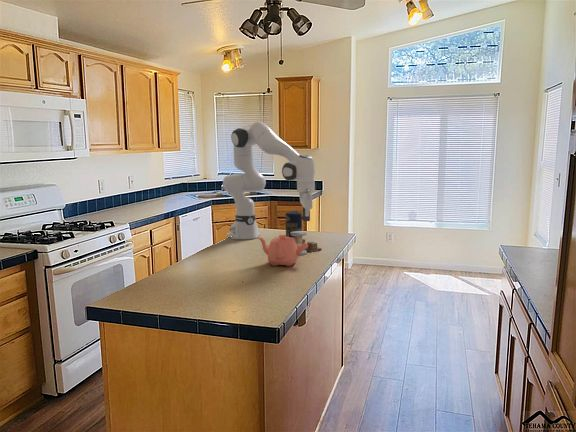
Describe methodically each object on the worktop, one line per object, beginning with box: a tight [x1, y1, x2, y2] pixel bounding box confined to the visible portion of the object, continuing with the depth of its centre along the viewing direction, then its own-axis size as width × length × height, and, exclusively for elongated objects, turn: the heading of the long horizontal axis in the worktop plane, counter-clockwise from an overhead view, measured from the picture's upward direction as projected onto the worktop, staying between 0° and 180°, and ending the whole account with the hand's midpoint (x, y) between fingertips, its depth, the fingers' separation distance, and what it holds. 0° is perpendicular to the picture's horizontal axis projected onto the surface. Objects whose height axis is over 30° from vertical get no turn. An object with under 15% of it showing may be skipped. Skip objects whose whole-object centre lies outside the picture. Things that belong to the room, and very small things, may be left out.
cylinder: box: [302, 206, 311, 222], centre depth 228 cm, size 4×4×8 cm
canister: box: [284, 210, 303, 239], centre depth 264 cm, size 10×10×18 cm
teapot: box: [256, 234, 308, 267], centre depth 217 cm, size 18×18×14 cm
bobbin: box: [290, 230, 308, 256], centre depth 235 cm, size 8×8×11 cm
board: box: [302, 238, 323, 253], centre depth 247 cm, size 18×7×4 cm, turn 34°
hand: (306, 215), depth 228 cm, fingers closed on cylinder, 4 cm apart
